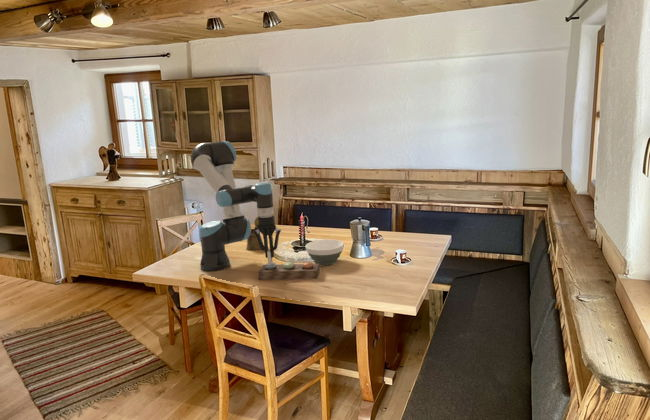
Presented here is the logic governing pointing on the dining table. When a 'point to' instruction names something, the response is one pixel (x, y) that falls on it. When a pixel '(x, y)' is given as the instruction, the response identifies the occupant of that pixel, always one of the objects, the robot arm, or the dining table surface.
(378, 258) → the dining table surface
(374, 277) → the dining table surface
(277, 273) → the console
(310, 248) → the bowl
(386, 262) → the dining table surface
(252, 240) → the brown lidded stein
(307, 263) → the rust button
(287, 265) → the sage button
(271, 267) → the slate button
